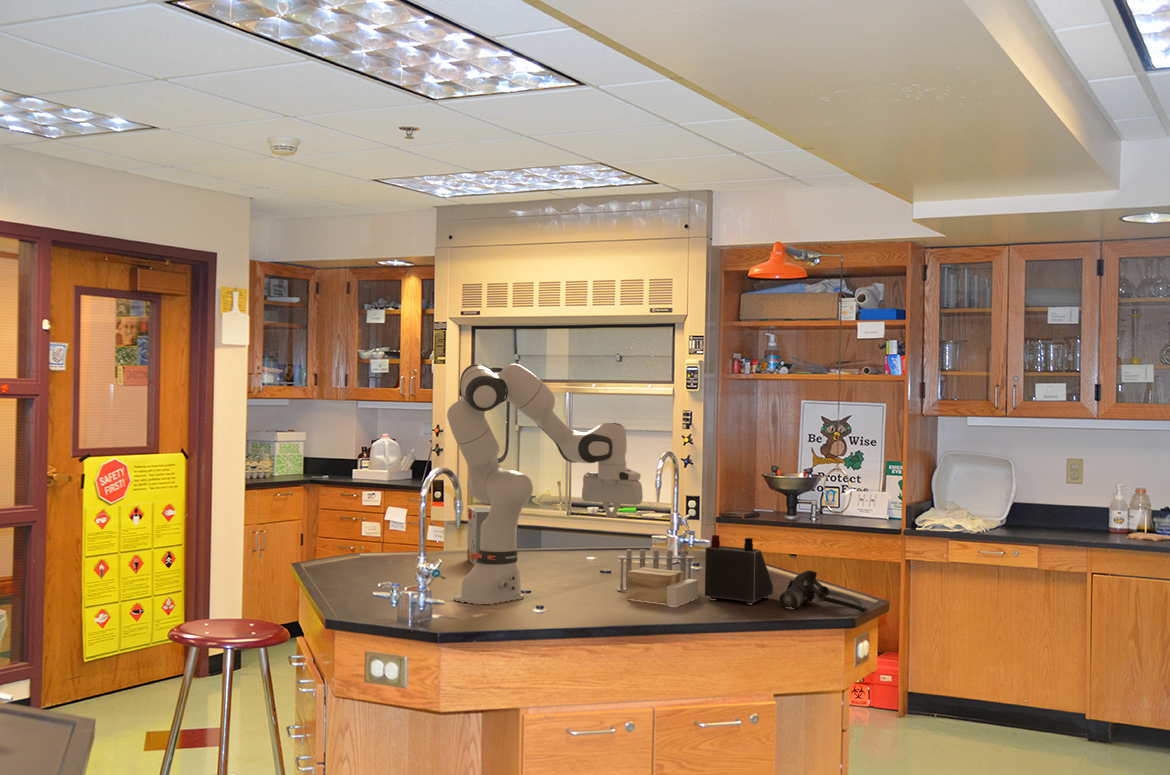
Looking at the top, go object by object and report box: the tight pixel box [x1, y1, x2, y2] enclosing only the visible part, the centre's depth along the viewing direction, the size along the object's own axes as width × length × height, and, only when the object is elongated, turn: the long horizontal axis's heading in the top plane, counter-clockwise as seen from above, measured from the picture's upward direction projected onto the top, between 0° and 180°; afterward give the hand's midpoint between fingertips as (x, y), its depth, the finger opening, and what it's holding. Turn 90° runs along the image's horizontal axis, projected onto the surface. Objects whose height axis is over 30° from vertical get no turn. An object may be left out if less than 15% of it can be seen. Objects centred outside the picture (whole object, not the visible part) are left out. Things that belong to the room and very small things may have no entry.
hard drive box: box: [466, 506, 490, 567], centre depth 381 cm, size 16×8×20 cm, turn 17°
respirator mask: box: [779, 570, 866, 612], centre depth 309 cm, size 20×22×15 cm
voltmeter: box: [704, 534, 774, 603], centre depth 319 cm, size 16×16×20 cm
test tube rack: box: [615, 549, 696, 592], centre depth 331 cm, size 25×4×13 cm, turn 97°
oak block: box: [626, 567, 684, 604], centre depth 314 cm, size 10×14×9 cm
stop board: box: [667, 578, 699, 606], centre depth 311 cm, size 16×3×6 cm, turn 150°
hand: (611, 517), depth 324 cm, fingers closed
